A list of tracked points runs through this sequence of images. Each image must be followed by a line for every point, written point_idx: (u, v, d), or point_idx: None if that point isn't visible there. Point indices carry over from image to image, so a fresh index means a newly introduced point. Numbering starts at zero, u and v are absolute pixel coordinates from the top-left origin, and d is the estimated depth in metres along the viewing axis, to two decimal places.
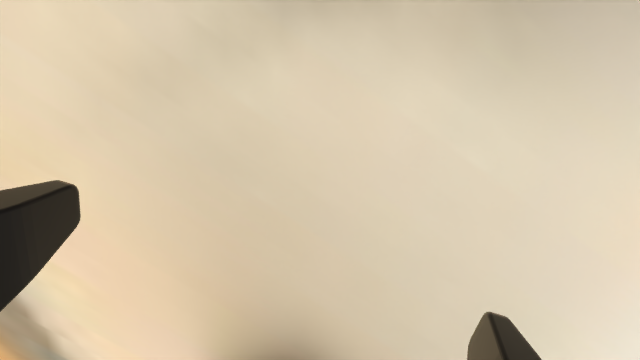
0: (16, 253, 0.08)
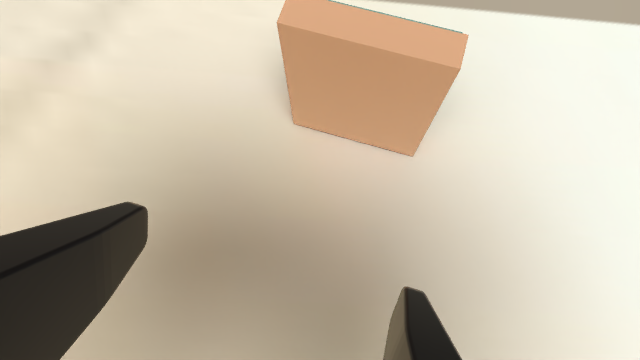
0: (95, 279, 0.08)
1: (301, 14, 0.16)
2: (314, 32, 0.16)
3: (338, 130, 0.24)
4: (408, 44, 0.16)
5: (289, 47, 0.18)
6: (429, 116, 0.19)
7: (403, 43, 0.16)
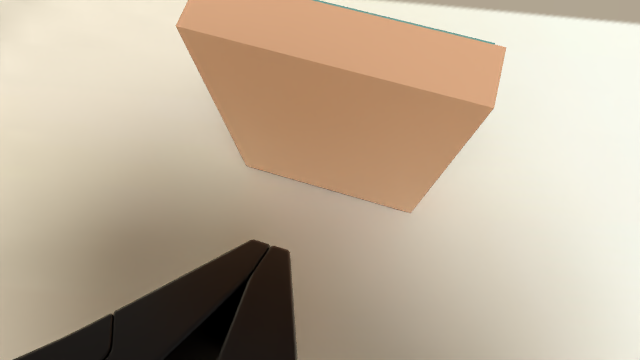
0: None
1: (218, 12, 0.10)
2: (239, 42, 0.09)
3: (306, 177, 0.17)
4: (401, 64, 0.09)
5: (208, 66, 0.11)
6: (436, 170, 0.13)
7: (393, 62, 0.09)
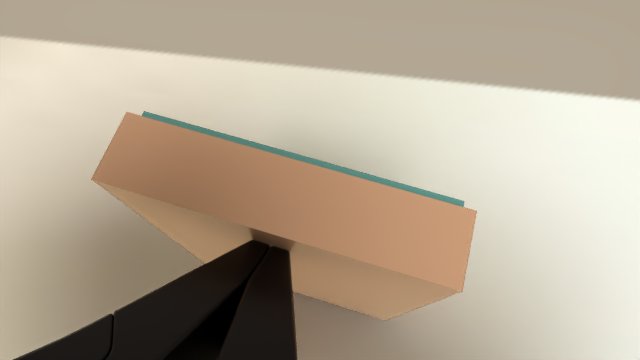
0: None
1: (143, 162, 0.08)
2: (165, 202, 0.08)
3: None
4: (354, 231, 0.08)
5: (139, 207, 0.09)
6: (406, 307, 0.11)
7: (344, 229, 0.08)
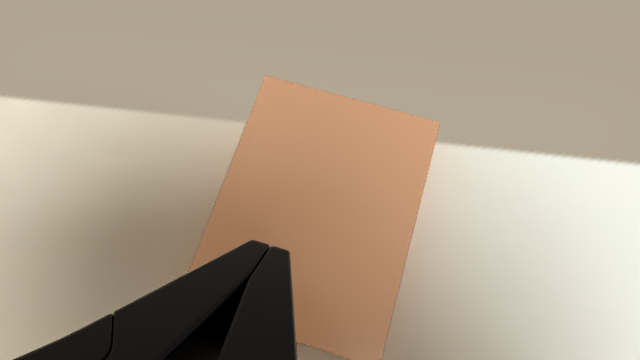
0: None
1: None
2: (301, 85, 0.17)
3: None
4: None
5: (263, 108, 0.17)
6: (409, 220, 0.15)
7: None
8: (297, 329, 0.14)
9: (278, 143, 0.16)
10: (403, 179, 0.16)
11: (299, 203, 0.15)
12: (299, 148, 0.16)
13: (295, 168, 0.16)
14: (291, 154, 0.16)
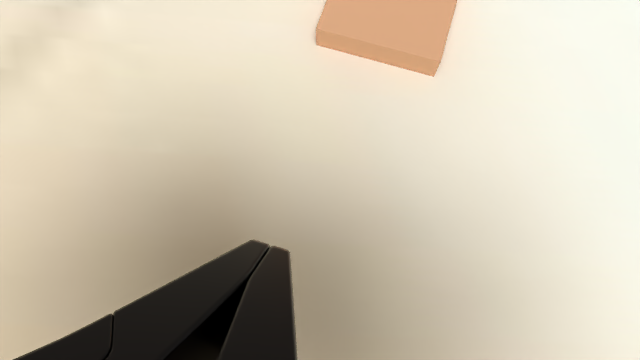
0: None
1: None
2: None
3: (366, 29, 0.24)
4: None
5: None
6: None
7: None
8: (390, 42, 0.24)
9: None
10: None
11: None
12: None
13: None
14: None
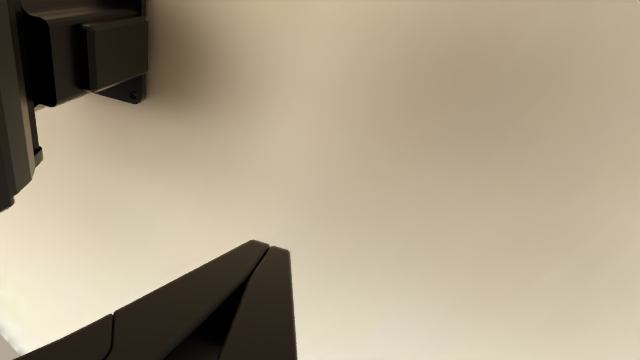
0: None
1: None
2: None
3: None
4: None
5: None
6: None
7: None
8: None
9: None
10: None
11: None
12: None
13: None
14: None
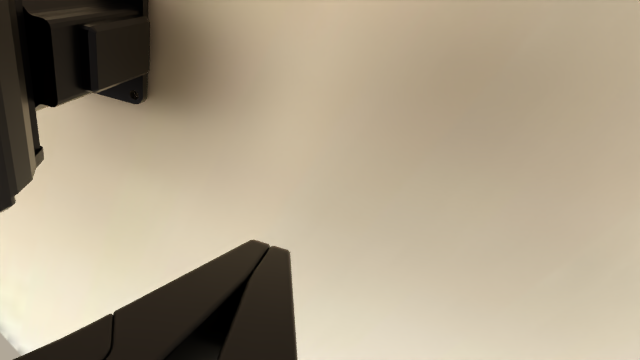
0: None
1: None
2: None
3: None
4: None
5: None
6: None
7: None
8: None
9: None
10: None
11: None
12: None
13: None
14: None
